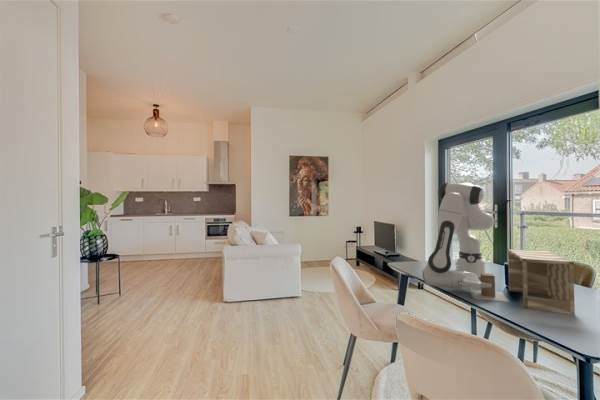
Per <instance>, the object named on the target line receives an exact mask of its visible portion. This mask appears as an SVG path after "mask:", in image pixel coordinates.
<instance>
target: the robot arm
mask: <svg viewBox="0 0 600 400" xmlns="http://www.w3.org/2000/svg"><path fill="white" fill-rule="evenodd" d="M437 196H438V198H439V200H441V203H440V205H439V210H438V213H437V228H438V235H437V238H436V239H437V240H436V244H435V248H434V250H433V252H432V253H431V254H430V255H429V257H428V261H427V263H426V265H425V267H424V268H423V269H422V273H421V274H422V278H423V281H424V283H425V284H427V285H429V286H431V287H439V288H444V287H445V288H449V289H459V290H462V288H463V289H466V290H469V291H470V290H478V291H480V290H482V288H485V287H492V284H491V283H483V282H481V273H486V266H485V265H486V264H485V261H484V260H483V259H482V251H481V241H480V239H479V238H478V237H476V236H475V235H473V234H470V233H469V231H487V230H488V231H489V230H491V229H492V228H493V227H494V225H495V218H494V216H493V215H491V214H490V213H488V212H486V211H484V210H482V209H481V207H480V205H479V204H480V203H481V202H482V200H483V199H484V189H483V187H481V186H480V185H477V184H473V183H470V182H462V183H458V182H457V183H456V182H454V183H452V182H451V183H450V182H443V183H442V184H440V185H439V187H438V189H437ZM454 234H455V235H456V236H457V238H458V243H459V251H458V258H457V260H456V261H455V269H454V270H451V266H452V261H451V260H452V259H451V256H450V251H451V245H452V242H453V237H454Z"/></svg>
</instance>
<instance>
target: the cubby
mask: <svg viewBox="0 0 600 400" xmlns="http://www.w3.org/2000/svg"><path fill="white" fill-rule="evenodd" d="M507 262H508V263H507V266H508V291H509V292H516V293H522V297H523V299H522V300H523V301H522V302H523V309H526V310H534V311H542V312H543V311H544V312H552V313H559V314H566V315H567V314H569V315H575V314H576V312H575V310H576V309H575V308H576V307H575V279H574V277H575V276H574V275H575V274H574V273H575V272H574V271H575V270H574V261H572V260H570V259H568V258H565V257H563V256H561V255H559V254H557V253H554V252H552V251H550V250H535V249H534V250H533V249H511V248H508V249H507ZM528 294H536V295H544V296H545V295H546V296H548V297H550V298H547V297H538V296H528Z"/></svg>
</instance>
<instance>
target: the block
mask: <svg viewBox="0 0 600 400" xmlns="http://www.w3.org/2000/svg"><path fill="white" fill-rule="evenodd" d="M480 282H483V283H491V284H492V287H485V288H482V290H481V293H482V295H483V296H488V297H495V292H496V276H495V275H494V274H493V273H487V272H485V273H481V281H480Z"/></svg>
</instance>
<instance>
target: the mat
mask: <svg viewBox="0 0 600 400" xmlns="http://www.w3.org/2000/svg"><path fill="white" fill-rule="evenodd" d="M469 292H470V294H471V297H472V298H473V299H475V300H476V299H477V300H484V301H485V300H486V301H494V302H495V301H496V302H502V303H510V300H509V299H508V298H507V297H506V296H505V294H504V292H501V291H495V297H488V296H483V295H482V293H481V290H480V291H478V290H470V289H469Z"/></svg>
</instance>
